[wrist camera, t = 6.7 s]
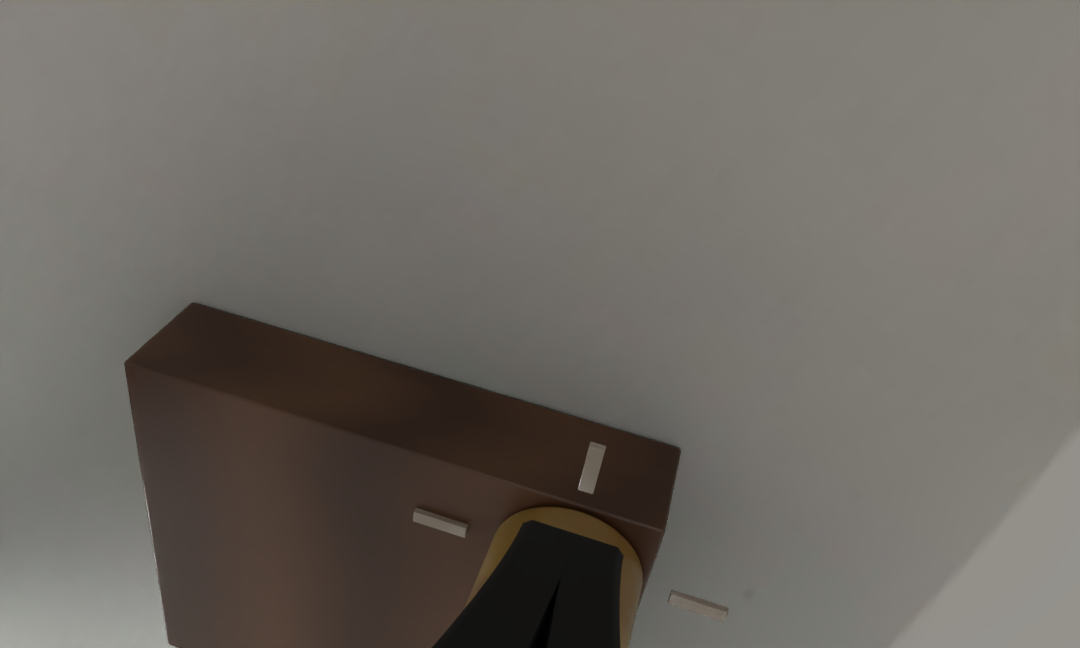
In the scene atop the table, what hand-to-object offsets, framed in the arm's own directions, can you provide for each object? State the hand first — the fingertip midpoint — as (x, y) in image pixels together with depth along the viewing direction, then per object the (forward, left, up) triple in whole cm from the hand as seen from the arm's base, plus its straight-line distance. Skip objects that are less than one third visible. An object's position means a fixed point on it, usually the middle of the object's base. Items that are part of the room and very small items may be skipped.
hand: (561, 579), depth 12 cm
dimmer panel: (+4, +10, -9) cm, 15 cm away
